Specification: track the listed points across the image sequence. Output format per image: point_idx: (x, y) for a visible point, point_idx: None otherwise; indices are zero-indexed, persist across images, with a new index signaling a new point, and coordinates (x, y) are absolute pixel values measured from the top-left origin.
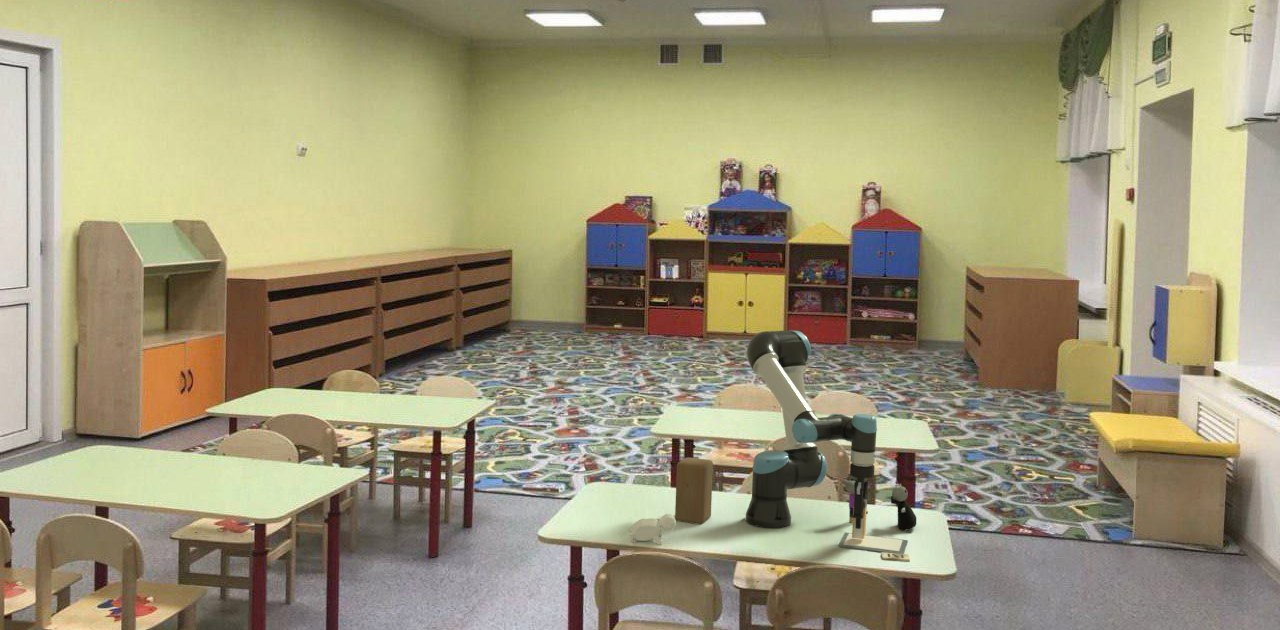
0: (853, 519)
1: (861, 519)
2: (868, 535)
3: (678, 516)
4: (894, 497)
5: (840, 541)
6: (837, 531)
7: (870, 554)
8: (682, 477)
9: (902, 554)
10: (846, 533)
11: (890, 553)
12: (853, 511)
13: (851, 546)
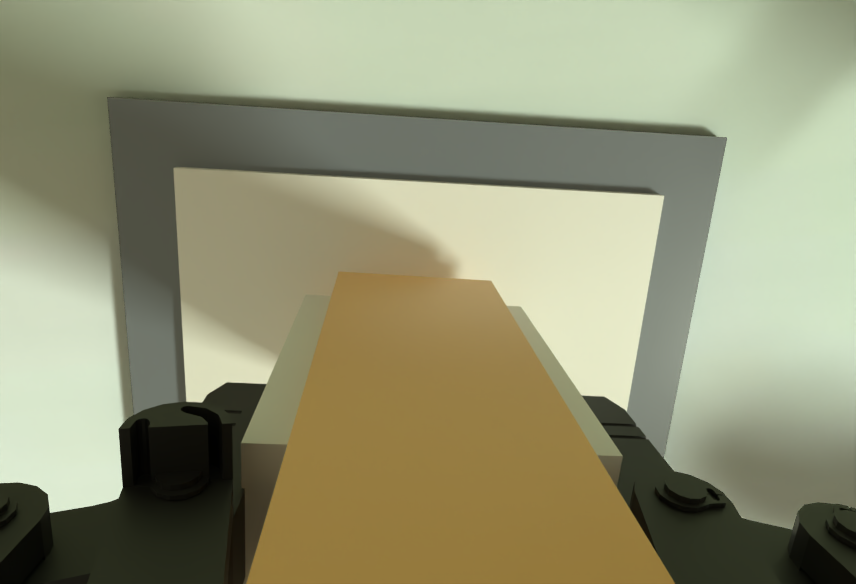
0: (308, 390)
1: (248, 568)
2: (663, 410)
3: None
4: None
5: (303, 115)
6: (792, 32)
7: (25, 476)
8: None
9: None
10: (680, 162)
11: None
12: (277, 494)
13: (152, 270)
